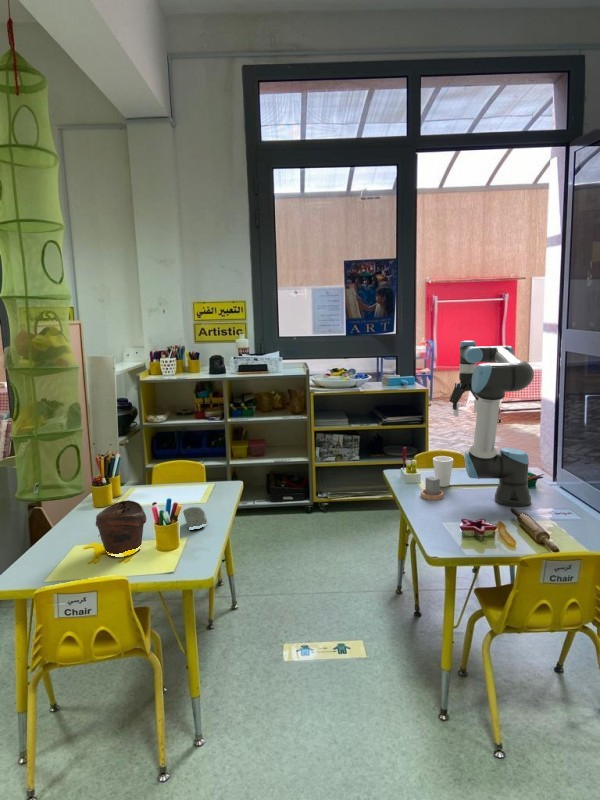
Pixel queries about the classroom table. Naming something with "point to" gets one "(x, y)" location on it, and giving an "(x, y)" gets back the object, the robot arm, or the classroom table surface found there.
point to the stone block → (432, 486)
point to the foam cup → (443, 469)
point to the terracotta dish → (432, 497)
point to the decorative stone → (195, 516)
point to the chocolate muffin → (121, 526)
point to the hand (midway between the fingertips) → (466, 414)
